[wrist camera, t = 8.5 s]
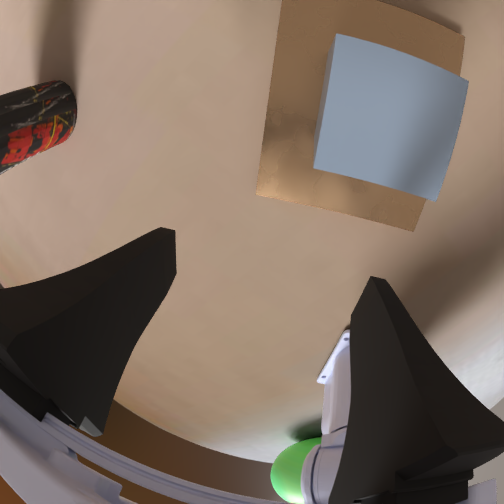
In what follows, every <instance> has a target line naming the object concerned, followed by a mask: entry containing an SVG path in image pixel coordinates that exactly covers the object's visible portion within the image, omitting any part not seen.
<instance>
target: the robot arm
mask: <svg viewBox="0 0 504 504" xmlns="http://www.w3.org/2000/svg"><path fill="white" fill-rule="evenodd" d="M176 274H177V272H176V242H175V230H171V229H167V228H163V227H160V228H157V229H155V230H153V231H151V232H149V233H147V234H145V235H143V236H141V237H139V238H137V239H135V240H133V241H131V242H129V243H127V244H126V245H124V246H122V247H120V248H118V249H116V250H114V251H112V252H110V253H108V254H106V255H104V256H102V257H100V258H98V259H96V260H93V261H91V262H89V263H87V264H85V265H82V266H80V267H77V268H75V269H72V270H70V271H67V272H65V273H62V274H59V275H56V276H52V277H49V278H46V279H43V280H40V281H36V282H33V283H29V284H25V285H20V286H16V287H11V288H5V289H0V475H1V476H2V477H3V478H4V480H5V481H6V482H7V483H8V484H9V485H10V486H11V487H12V489H13V490H14V491H15V492H16V493H17V494H18V495H19V496H20V497H21V498H22V499H23V500H24V501H25V502H26V503H27V504H137V503H135V502H132V501H130V500H128V499H125V498H123V497H121V496H119V493H120V491H121V489H122V486H121V484H119V483H117V482H115V481H113V480H111V479H109V478H107V477H105V476H103V475H101V474H99V473H98V472H96V471H94V470H92V469H90V468H89V467H87V466H85V465H83V464H82V463H80V462H79V461H78V460H77V455H76V453H78V454H80V455H81V456H83V457H85V458H86V459H88V460H90V461H92V462H93V463H95V464H97V465H99V466H101V467H103V468H105V469H106V470H109V471H110V472H113V473H114V474H116V475H118V476H121V477H123V478H125V479H127V480H129V481H131V482H134V483H136V484H138V485H141V486H143V487H145V488H148V489H150V490H153V491H155V492H158V493H161V494H163V495H166V496H169V497H171V498H174V499H177V500H180V501H183V502H187V503H190V504H296V503H286V502H278V501H271V500H264V499H258V498H252V497H248V496H243V495H238V494H233V493H228V492H225V491H220V490H216V489H213V488H209V487H205V486H202V485H198V484H195V483H192V482H189V481H185V480H183V479H180V478H177V477H174V476H171V475H168V474H165V473H163V472H160V471H157V470H155V469H152V468H150V467H147V466H145V465H143V464H140V463H138V462H135V461H133V460H131V459H129V458H127V457H125V456H122V455H120V454H118V453H116V452H114V451H112V450H110V449H108V448H106V447H104V446H102V445H100V444H99V443H96V442H95V441H93V440H91V439H90V438H88V437H86V436H84V435H83V434H81V433H79V432H77V431H76V430H74V429H72V428H71V427H69V424H70V425H72V426H73V427H75V428H77V429H78V428H80V429H81V430H83V431H85V432H87V433H88V434H90V435H92V436H94V437H96V436H100V435H102V434H103V432H104V428H105V424H106V420H107V417H108V413H109V410H110V406H111V404H112V401H113V398H114V395H115V392H116V389H117V386H118V384H119V381H120V379H121V376H122V374H123V371H124V369H125V366H126V364H127V362H128V360H129V358H130V355H131V353H132V351H133V349H134V347H135V345H136V343H137V341H138V339H139V338H140V336H141V334H142V333H143V331H144V330H145V328H146V326H147V325H148V323H149V322H150V320H151V319H152V317H153V315H154V314H155V312H156V311H157V309H158V308H159V306H160V304H161V303H162V301H163V300H164V298H165V296H166V295H167V293H168V291H169V289H170V287H171V285H172V282H173V280H174V278H175V276H176ZM317 382H318V383H322V384H325V389H324V401H323V412H322V423H321V430H322V434H323V435H322V440H321V444H318V445H315V446H314V447H313V448H312V449H311V451H310V452H309V453H308V454H307V456H306V458H305V460H304V463H303V467H302V472H301V492H302V496H303V498H304V504H496V503H497V501H496V500H497V495H496V479H495V478H493V479H491V480H487V481H484V482H481V483H478V484H475V485H472V486H469V487H468V480H471V479H472V478H473V476H474V475H473V469H475V468H477V467H479V466H481V465H483V464H484V463H486V462H488V461H490V460H492V459H493V458H495V457H497V456H499V455H500V454H501V453H503V452H504V422H503V421H502V420H501V419H500V418H499V417H497V416H496V415H495V414H494V413H492V412H491V411H490V410H489V409H488V408H486V407H485V406H484V405H483V404H482V403H481V402H480V401H479V400H478V399H477V398H476V397H474V396H473V395H472V394H471V393H470V392H469V391H468V390H467V389H466V388H465V387H464V385H463V384H462V383H461V382H460V381H459V380H458V379H457V378H456V377H455V376H454V374H453V373H452V372H451V371H450V370H449V369H448V368H447V366H446V365H445V364H444V363H443V361H442V360H441V359H440V357H439V356H438V355H437V354H436V352H435V351H434V350H433V348H432V347H431V346H430V344H429V343H428V342H427V340H426V339H425V337H424V336H423V334H422V333H421V332H420V330H419V329H418V327H417V326H416V324H415V323H414V321H413V320H412V318H411V317H410V315H409V313H408V312H407V310H406V309H405V307H404V306H403V304H402V303H401V301H400V300H399V298H398V297H397V295H396V294H395V292H394V291H393V289H392V288H391V286H390V285H389V283H388V282H387V281H386V280H385V279H381V278H377V277H373V276H370V278H369V280H368V283H367V285H366V287H365V289H364V291H363V293H362V295H361V297H360V299H359V301H358V303H357V305H356V307H355V309H354V311H353V312H352V314H351V322H350V330H345V331H344V332H343V334H342V335H341V337H340V339H339V341H338V343H337V345H336V347H335V348H334V350H333V352H332V354H331V355H330V357H329V359H328V361H327V362H326V364H325V366H324V368H323V369H322V371H321V373H320V374H319V376H318V378H317ZM74 451H75V452H76V453H75V452H74Z"/></svg>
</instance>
